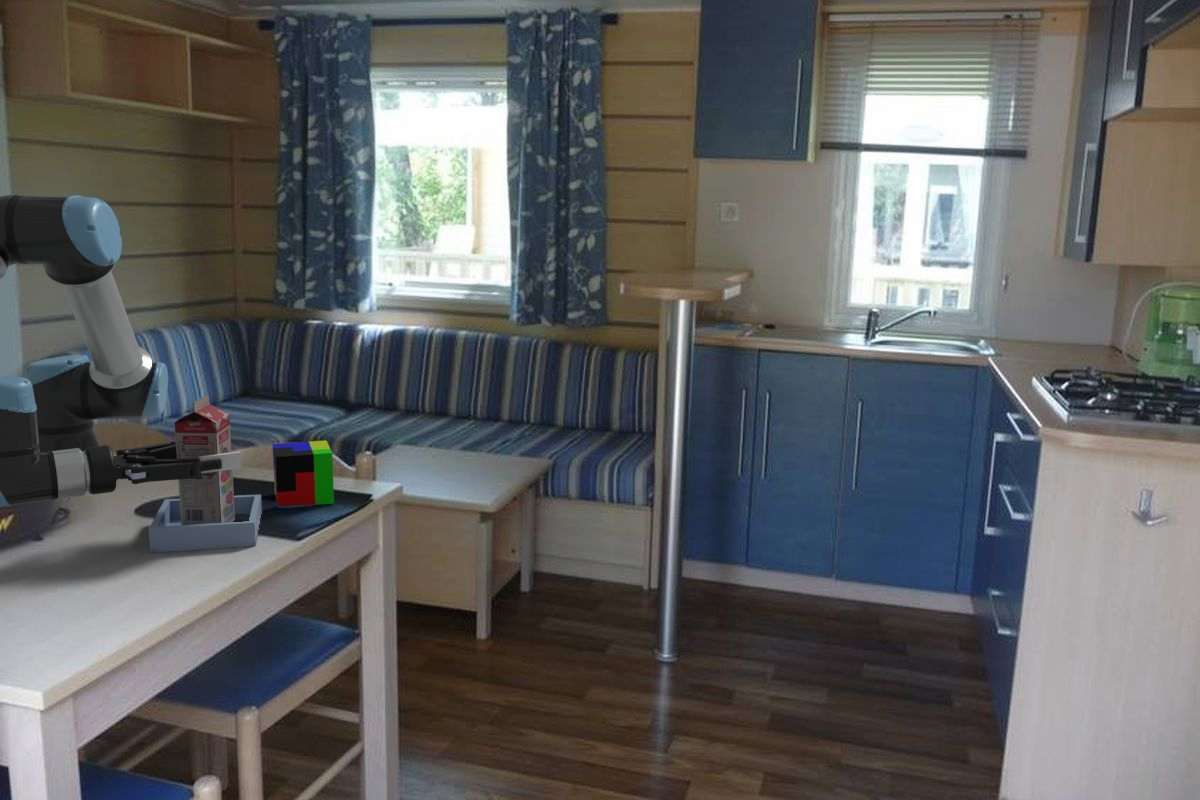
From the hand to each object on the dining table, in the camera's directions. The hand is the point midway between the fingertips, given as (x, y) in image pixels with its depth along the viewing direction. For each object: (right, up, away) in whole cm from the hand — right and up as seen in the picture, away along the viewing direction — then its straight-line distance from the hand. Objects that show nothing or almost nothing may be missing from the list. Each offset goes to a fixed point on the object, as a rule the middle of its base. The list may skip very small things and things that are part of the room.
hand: (232, 453), depth 169 cm
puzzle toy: (+6, -10, +20) cm, 23 cm away
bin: (-4, -14, 0) cm, 14 cm away
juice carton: (-4, -12, 0) cm, 13 cm away
